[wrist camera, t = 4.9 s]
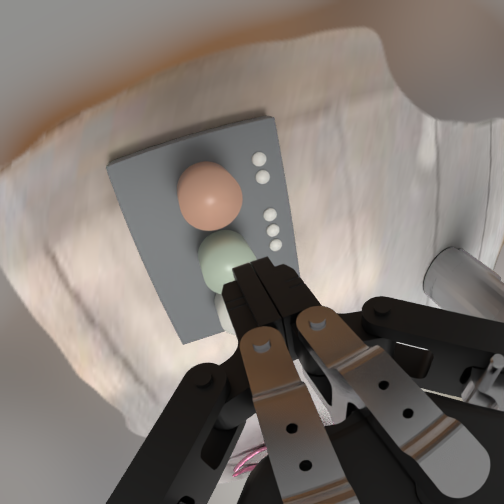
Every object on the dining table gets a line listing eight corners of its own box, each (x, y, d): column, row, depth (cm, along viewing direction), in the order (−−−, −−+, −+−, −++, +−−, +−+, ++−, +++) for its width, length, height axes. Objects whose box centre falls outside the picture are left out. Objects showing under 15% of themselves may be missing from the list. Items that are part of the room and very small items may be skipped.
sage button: (242, 223, 26) (252, 238, 23) (252, 266, 28) (262, 284, 25) (191, 239, 25) (196, 257, 23) (206, 281, 27) (212, 301, 25)
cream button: (252, 274, 30) (262, 291, 27) (260, 307, 32) (270, 325, 29) (209, 288, 29) (215, 308, 27) (220, 321, 31) (227, 340, 29)
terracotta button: (225, 154, 23) (235, 162, 20) (238, 205, 25) (248, 219, 22) (169, 171, 22) (171, 181, 19) (185, 222, 24) (189, 238, 22)
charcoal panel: (266, 115, 25) (275, 117, 23) (296, 292, 36) (304, 303, 34) (109, 162, 23) (105, 167, 21) (180, 332, 34) (183, 345, 32)
